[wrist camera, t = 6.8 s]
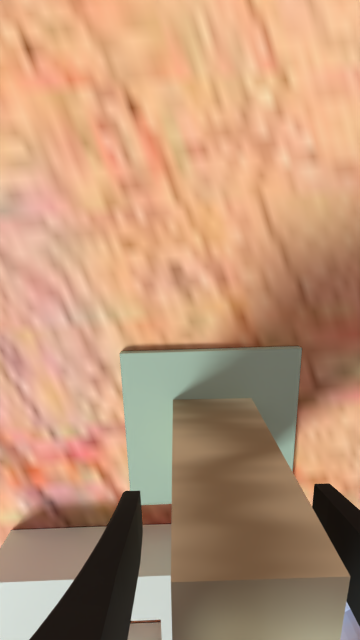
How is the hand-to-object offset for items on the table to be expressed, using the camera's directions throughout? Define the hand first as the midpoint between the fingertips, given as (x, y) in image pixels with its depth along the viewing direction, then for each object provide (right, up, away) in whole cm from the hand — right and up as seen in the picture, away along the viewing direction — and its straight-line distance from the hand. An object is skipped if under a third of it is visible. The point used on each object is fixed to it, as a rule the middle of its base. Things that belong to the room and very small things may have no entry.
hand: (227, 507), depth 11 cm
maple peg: (0, +1, +5) cm, 5 cm away
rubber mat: (0, +1, +5) cm, 5 cm away
